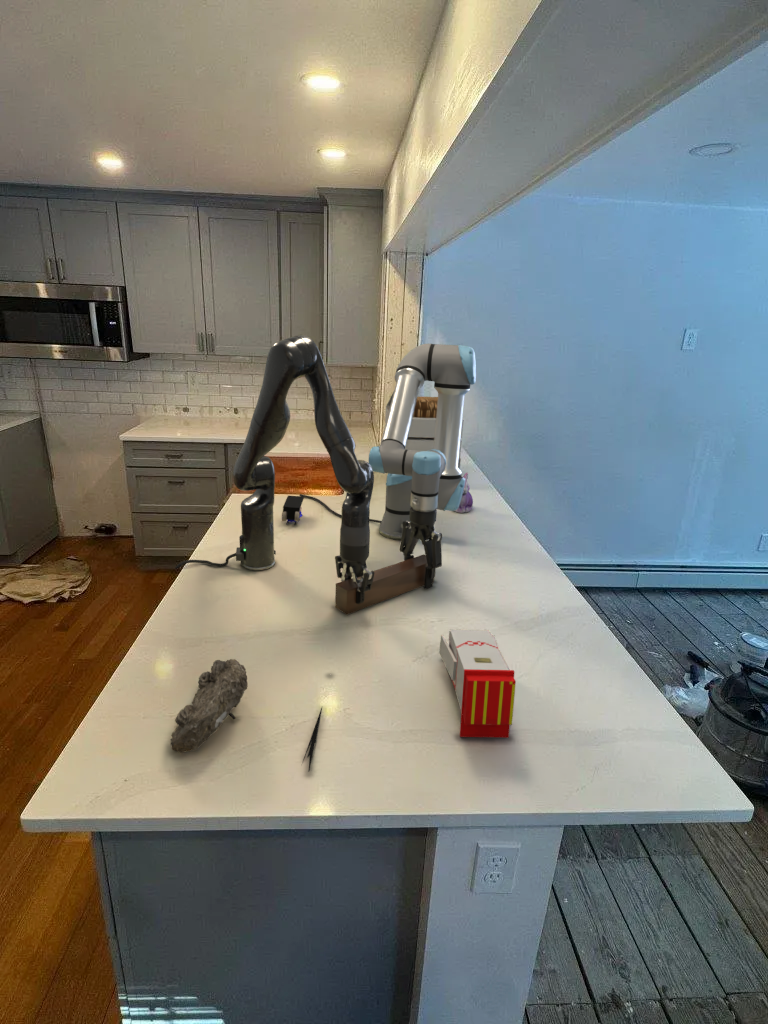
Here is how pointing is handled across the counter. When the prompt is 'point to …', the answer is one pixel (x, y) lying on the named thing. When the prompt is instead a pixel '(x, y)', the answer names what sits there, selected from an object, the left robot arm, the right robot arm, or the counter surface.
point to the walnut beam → (383, 584)
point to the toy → (479, 682)
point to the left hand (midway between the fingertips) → (353, 598)
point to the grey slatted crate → (423, 425)
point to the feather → (313, 740)
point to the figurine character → (292, 509)
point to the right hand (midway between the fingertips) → (418, 581)
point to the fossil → (210, 704)
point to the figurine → (465, 498)
